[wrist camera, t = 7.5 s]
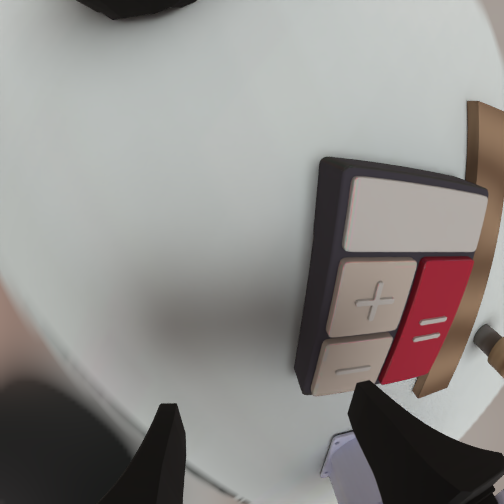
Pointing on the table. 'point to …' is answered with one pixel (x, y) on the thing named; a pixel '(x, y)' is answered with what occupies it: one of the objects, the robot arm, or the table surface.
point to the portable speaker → (132, 6)
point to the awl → (491, 347)
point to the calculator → (384, 272)
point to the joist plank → (500, 189)
